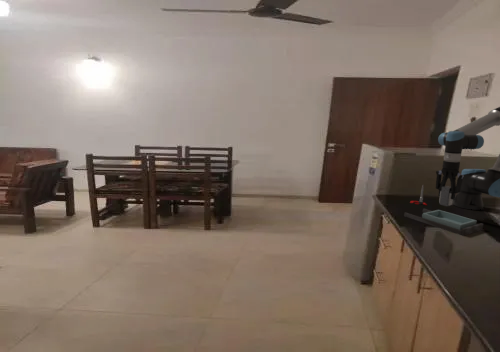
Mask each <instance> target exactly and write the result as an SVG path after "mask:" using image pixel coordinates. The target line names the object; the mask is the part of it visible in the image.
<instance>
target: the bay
mask: <svg viewBox="0 0 500 352" xmlns="http://www.w3.org/2000/svg"><path fill="white" fill-rule="evenodd" d="M431 211H432V210H431V209H427V208H422V211H421V212H422V213H426V212H431ZM403 216H404V217H405V218H408V219H412V220H415V221H416V222H417V221H418V222H421V223H424V224H426V225H429V226H432V227H436V228H438V229H440V230H441V229H442V230H445V231H447V232H450V233H453V234H457V235H459V236H462V237H463V236H466V235H471V234H473V233H476V232H479V231H482V230H483V227H484V223H483V222H481V223H476V225H473V226H470V227H466V228H463V229H461V230H459V229H456V228H453V227H450V226H446V225H443V224H440V223H437V222H434V221H431V220H428V219H425V218H422V216H419V215H414V214H412V213H408V212H407V211H405V212H404V214H403Z"/></svg>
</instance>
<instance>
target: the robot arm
mask: <svg viewBox="0 0 500 352" xmlns="http://www.w3.org/2000/svg"><path fill="white" fill-rule="evenodd" d="M495 126H496V127H497V126H500V106H498V107H496V108H494V109H492V110H490V111H488V113H487V114H485V115H484V116H482V117H479V118H477V119H475V120H474V121H471V122H470V123H467V124H465V125H463V126H460V127H458V128H457V129H455V130H449V131H448V132H442V133H440V135H439V136H438V139H437V141H438V144H439V145H440V146H443V147H444V152H443V153H444V155H443V161H442V169H441V170H436V171H435V173H436V181H435V189H437V190H438V197H439V199H438V202H439V204H440V197H441V190H442V186H446V184H447V182H448V179H449V181H450V187H451V193H450V194H449V201H448V205H450V206H455V207H457V208H460V209H461V208H462V209H465V210H471V209H472V210H473V211H481V210H483V209H484V202H483V201H484V200H483V198H482V195H483V194H484V195H489V196H491V197H494V198H495V197H496V198H500V153H499V155H498V156H497V158H496V161H495V162H494V164H493V166H492V167H489V168H488V169H487V170H486V169H483V168H482V169H481V168H464V169H462V170H461V173H460V167H461V166H460V165H461V162H460V161H461V159H462V153H463V150H474V151H475V150H478V149H481V148H482V147H483V146H484V144H485V139H484V137H483V136H482V135H480V133H483V132H485V131H486V130H487V131H488V130H489V129H490V128H493V127H495ZM456 177H457V178H456ZM482 208H483V209H482ZM480 209H481V210H480Z"/></svg>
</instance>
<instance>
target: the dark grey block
mask: <svg viewBox="0 0 500 352" xmlns="http://www.w3.org/2000/svg"><path fill="white" fill-rule="evenodd" d="M450 193H451V185H445V186H442V190H441V197H440V196H439V199H440V203H439V205H441V206H444V207H450V206H451V205H448V201H449V194H450Z"/></svg>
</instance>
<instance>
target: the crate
mask: <svg viewBox="0 0 500 352" xmlns="http://www.w3.org/2000/svg"><path fill="white" fill-rule="evenodd" d="M421 217H422V218H425V219H428V220H431V221H434V222H437V223H440V224H443V225H446V226H450V227H453V228H456V229H459V230H461V229H463V228H466V227H470V226H473V225H476V224H477V222H478V221H477V220H476V219H474V218H473V219H472V218H468V217H465V216H461V215H459V214H455V213H452V212H448V211H444V210H441V209H436V210H431V212H426V213H424V212H422V214H421Z"/></svg>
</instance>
